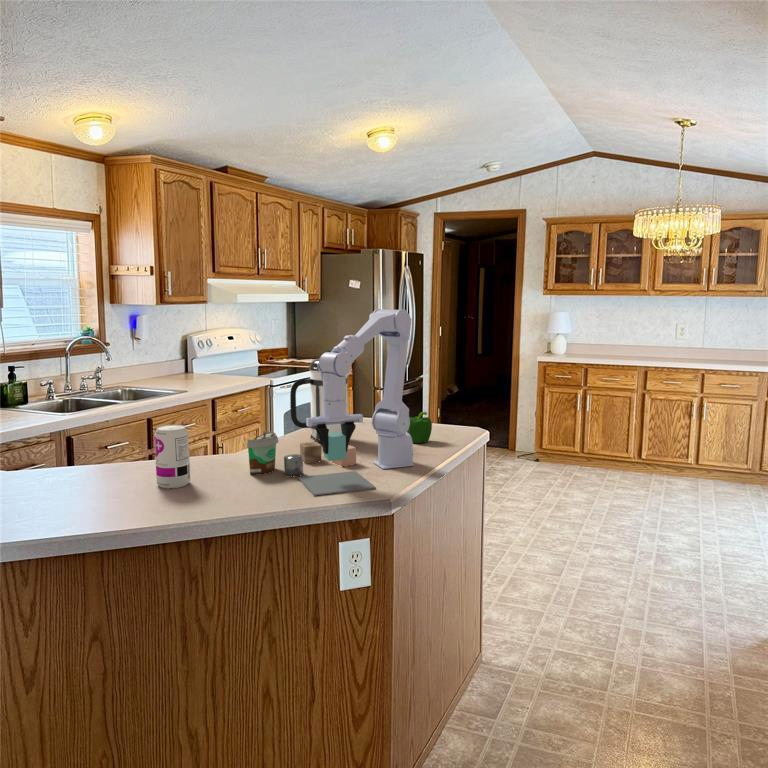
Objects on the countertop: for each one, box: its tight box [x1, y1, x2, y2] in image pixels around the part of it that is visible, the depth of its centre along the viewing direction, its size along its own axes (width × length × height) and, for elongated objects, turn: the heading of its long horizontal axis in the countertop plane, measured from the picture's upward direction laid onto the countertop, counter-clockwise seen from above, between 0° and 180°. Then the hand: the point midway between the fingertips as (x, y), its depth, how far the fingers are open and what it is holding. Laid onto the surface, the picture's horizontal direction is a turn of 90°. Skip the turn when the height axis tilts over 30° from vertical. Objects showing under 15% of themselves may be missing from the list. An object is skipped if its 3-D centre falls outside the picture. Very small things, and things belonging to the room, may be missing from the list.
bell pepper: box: [406, 411, 433, 444], centre depth 218 cm, size 8×8×10 cm
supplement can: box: [153, 424, 191, 489], centre depth 171 cm, size 8×8×15 cm
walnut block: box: [299, 441, 322, 464], centre depth 195 cm, size 5×5×5 cm
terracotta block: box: [331, 444, 357, 467], centre depth 191 cm, size 5×5×5 cm
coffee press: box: [289, 349, 353, 445], centre depth 217 cm, size 17×16×30 cm
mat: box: [297, 470, 377, 497], centre depth 172 cm, size 16×16×1 cm
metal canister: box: [283, 453, 304, 478], centre depth 181 cm, size 5×5×5 cm
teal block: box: [323, 433, 346, 462], centre depth 171 cm, size 4×4×6 cm
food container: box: [246, 430, 279, 476], centre depth 184 cm, size 12×6×10 cm, turn 168°
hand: (335, 451), depth 171 cm, fingers closed on teal block, 4 cm apart
